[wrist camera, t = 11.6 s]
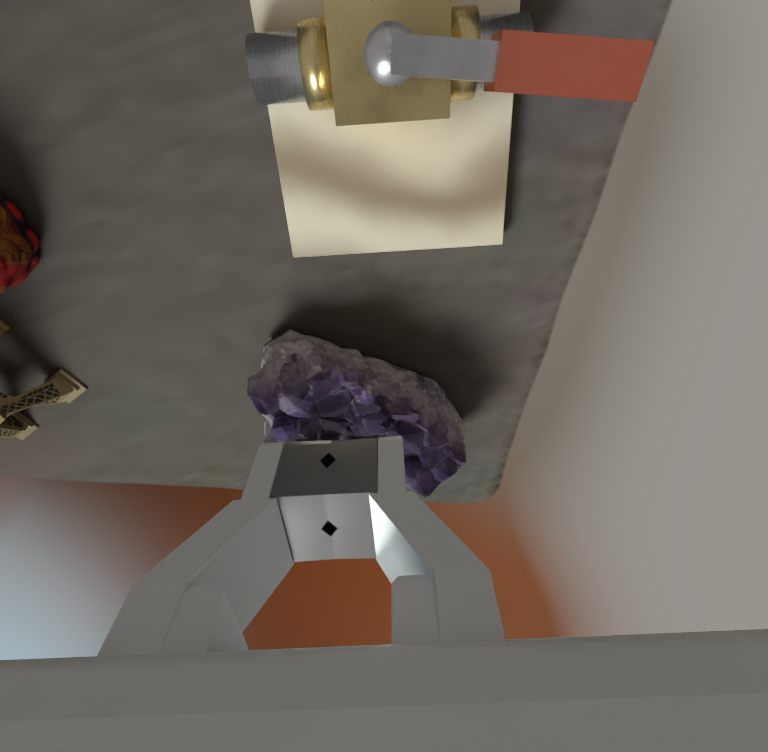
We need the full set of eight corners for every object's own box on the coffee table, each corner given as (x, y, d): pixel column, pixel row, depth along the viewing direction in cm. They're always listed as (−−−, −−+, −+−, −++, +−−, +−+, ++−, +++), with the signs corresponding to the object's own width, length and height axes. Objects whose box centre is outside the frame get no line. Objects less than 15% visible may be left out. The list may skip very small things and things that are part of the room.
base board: (221, -203, 24) (213, -219, 23) (530, -231, 24) (538, -249, 22) (296, 251, 37) (293, 257, 36) (498, 238, 36) (502, 244, 35)
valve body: (253, 12, 28) (225, -4, 23) (518, -9, 28) (551, -30, 23) (272, 124, 31) (251, 132, 26) (510, 107, 31) (536, 112, 26)
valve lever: (364, 84, 25) (362, 84, 22) (366, 23, 23) (364, 15, 21) (608, 102, 25) (635, 104, 23) (624, 43, 24) (655, 38, 21)
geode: (488, 364, 43) (511, 446, 35) (439, 443, 50) (449, 526, 42) (268, 304, 39) (240, 383, 31) (249, 400, 46) (223, 484, 38)
